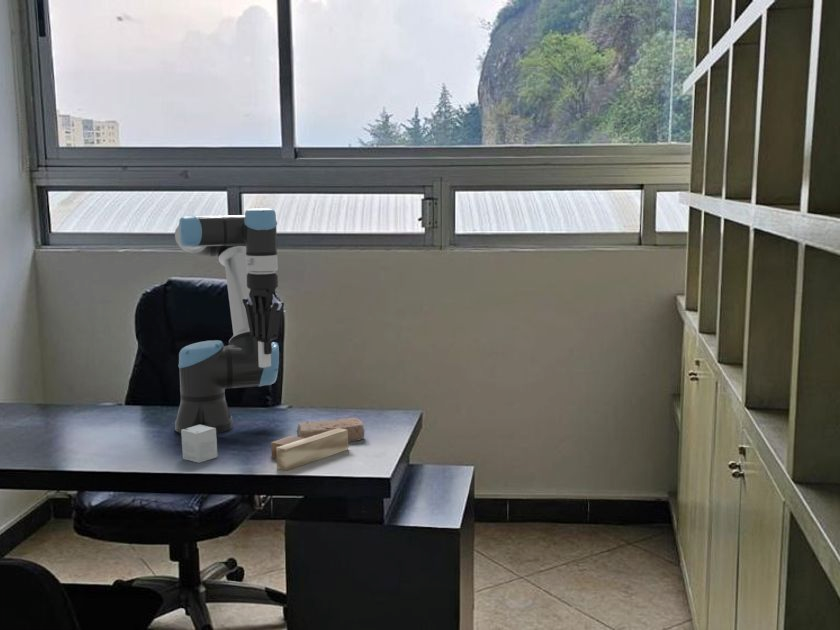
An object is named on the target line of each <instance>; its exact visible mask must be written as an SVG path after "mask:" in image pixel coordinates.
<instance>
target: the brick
mask: <svg viewBox="0 0 840 630" xmlns="http://www.w3.org/2000/svg"><path fill="white" fill-rule="evenodd" d="M296 428H297V429H296V434H297V435H296V437H301V438H308V437H311V436H314V435H318V434H321V433H324V432H327V431H330V430H334V429H337V428H342V429H346V430H348V443H349V442H357V441H361V440H363V439H364V438H365V428H364V422H362V420H360V419H359V418H358V417H347V418H346V417H345V418H339V419H335V420H311V421H306V422H304V421H303V422H299V423H298V426H297V427H296Z"/></svg>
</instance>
